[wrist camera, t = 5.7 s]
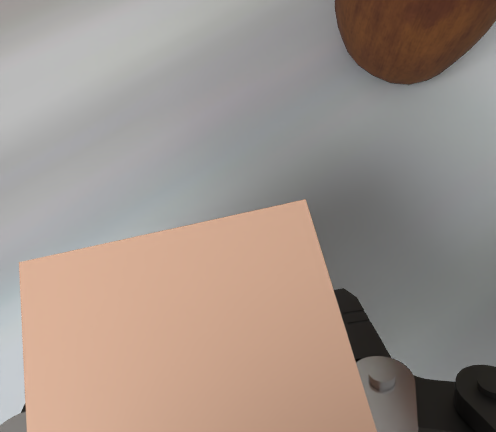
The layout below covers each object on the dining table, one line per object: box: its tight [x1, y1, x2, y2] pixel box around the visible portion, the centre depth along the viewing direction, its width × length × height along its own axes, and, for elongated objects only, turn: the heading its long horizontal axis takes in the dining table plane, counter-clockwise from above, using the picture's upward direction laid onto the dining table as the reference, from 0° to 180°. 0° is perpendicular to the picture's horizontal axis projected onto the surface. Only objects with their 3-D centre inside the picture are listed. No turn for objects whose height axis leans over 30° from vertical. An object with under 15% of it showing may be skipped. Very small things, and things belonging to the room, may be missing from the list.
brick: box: [19, 199, 377, 432], centre depth 11 cm, size 5×5×10 cm
